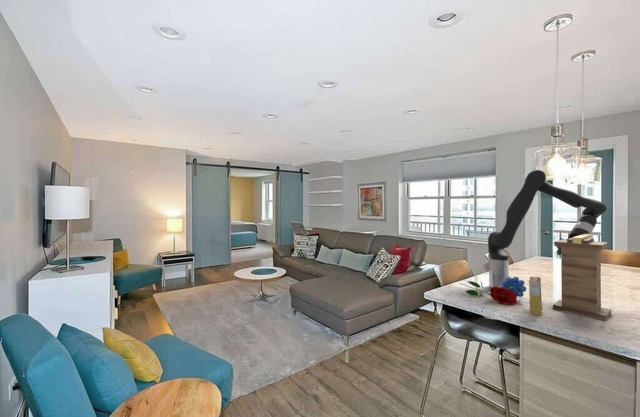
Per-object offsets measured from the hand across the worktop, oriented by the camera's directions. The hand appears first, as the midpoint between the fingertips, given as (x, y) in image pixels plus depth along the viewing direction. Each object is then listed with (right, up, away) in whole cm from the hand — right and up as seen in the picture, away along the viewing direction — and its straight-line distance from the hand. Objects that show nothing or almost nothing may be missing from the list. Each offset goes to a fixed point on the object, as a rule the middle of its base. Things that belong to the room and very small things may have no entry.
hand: (567, 255), depth 146 cm
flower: (-40, -24, +6) cm, 47 cm away
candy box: (-27, -24, -14) cm, 39 cm away
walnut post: (-7, -23, -15) cm, 29 cm away
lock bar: (-3, +9, -12) cm, 15 cm away
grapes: (-25, -24, +4) cm, 35 cm away
